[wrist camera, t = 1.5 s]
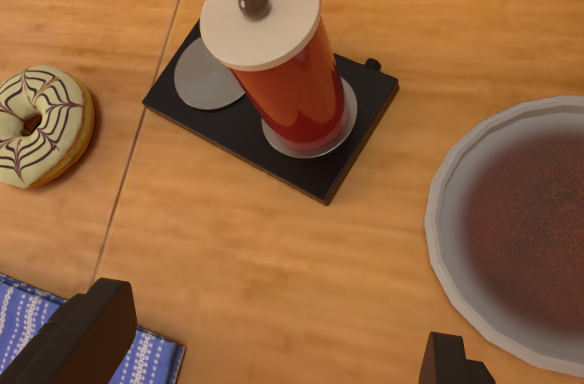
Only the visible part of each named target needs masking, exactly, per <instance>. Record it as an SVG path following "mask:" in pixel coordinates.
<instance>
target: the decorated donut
mask: <svg viewBox="0 0 584 384" xmlns="http://www.w3.org/2000/svg"><path fill="white" fill-rule="evenodd" d="M41 120H42V123H41V124H40V125H39V126H38V127H37V129H36V130H35V132H34V133H33V130H34V128H35V127H36V125H37V124H38V123H39V122H40V121H41ZM93 123H94V107H93V103H92V99H91V96H90V93H89V91H88V90H87V89H86V87H85V86H84V85H83V84H82V83H80V82H79V81H78V80H77V79H75V78H74V77H72V76H71V75H70V74H69V73H66V72H63V71H62V70H60V69H58V68H57V67H54V66H49V65H43V64H42V65H38V66H35V67H29V68H26V69H25V70H23V71H21V72H18V73H16V74H15V75H14V76H12V77H10V78H9V79H6V80H5V81H4V82H3V83H2V84H1V85H0V183H5V184H9V185H11V186H15V187H18V188H23V189H28V188H39V187H42V186H43V185H45V184H47V183H49V182H50V181H51V180H53V179H56V178H58V177H59V176H60V175H61V174H62V173H64V172H65V171H66V170H67V169H68V168H70V167H71V166H72V165H73V164H74V163H75V162H77V161H78V159H79V158H80V157H81V156H82V155H83V153H84V151H85V150H86V148H87V145H88V144H89V142H90V140H91V135H92V133H93V128H94V124H93ZM32 133H33V134H32Z"/></svg>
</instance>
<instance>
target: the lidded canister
mask: <svg viewBox="0 0 584 384" xmlns="http://www.w3.org/2000/svg"><path fill="white" fill-rule="evenodd" d="M321 11H322V3H321V0H206V1H205V3H204V5H203V8H202V11H201V16H200V32H201V36H202V39H203V42H204V44H205V45H206V47H207V49H208V50H209V51H210V53H211V54H212V55H213V56H214V58H215V59H217V60H218V61H219V62H220V63H222V64H223V65H225V66H226V67H227V69H228V70H229V72H230V73H231V74H232V76H233V77H234V79H235V80H236V82H237V83H238V84H239V86H240V87H241V89H242V90H243V91H244V93H245V94H246V96H247V97H248V99H249V100H250V101H251V103H252V104H253V106H254V107H255V109H256V110H257V111H258V113H259V114H260V116H261V117H262V119H263V120H264V121H265V123H266V124H267V126H268V127H269V129H270V130H271V131H272V133H273V134H274V136H275V137H276V138H277V139H278V140H279V141H280V142H281V143H283V144H284V145H286V146H288V147H290V148H293V149H298V150H311V149H315V148H319V147H321V146H323V145H326V144H327V143H329V142H330V141H332V140H333V139H334V138H335V137H336V136H337V135H338V134H339V133H340V132H341V130H342V129H343V127H344V126H345V123H346V121H347V118H348V113H349V103H348V99H347V96H346V92H345V89H344V86H343V83H342V80H341V77H340V73H339V70H338V67H337V64H336V61H335V58H334V54H333V51H332V48H331V45H330V42H329V39H328V36H327V32H326V29H325V26H324V23H323V20H322V17H321Z"/></svg>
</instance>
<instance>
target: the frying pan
mask: <svg viewBox="0 0 584 384" xmlns="http://www.w3.org/2000/svg"><path fill="white" fill-rule="evenodd" d="M424 226H425V232H426V238H427V244H428V251H429V257H430V263H431V266H432V268H433V269H434V271H435V273H436V275H437V277H438V279H439V281H440V283H441V285H442V287H443V289H444V291H445V292H446V294H447V296H448V298H449V300H450V302H451V304H452V305H453V306H454V307H455V308H456V309H457V310H458V311H459V312H460V313H461V314H462V315H463V316H464V318H465V319H466V320H467V321H468V322H469V323H470V324H471V325H472V326H473V327H474V328H475V329H476V330H477V331H478V332H479V333H480V334H481V335H482V336H483V337H484V338H485V339H486V340H487V341H489V342H491V343H493V344H494V345H496V346H498V347H500V348H502V349H503V350H505V351H507V352H509V353H510V354H512V355H514V356H516V357H518V358H519V359H521V360H523V361H525V362H526V363H528V364H530V365H532V366H534V367H538V368H542V369H547V370H551V371H555V372H559V373H563V374H568V375H572V376H576V377H580V378H584V97H582V96H570V95H562V96H556V97H551V98H545V99H539V100H533V101H528V102H522V103H517V104H515V105H513V106H511V107H509V108H507V109H505V110H503V111H501V112H499V113H496V114H494V115H492V116H490V117H488V118H486V119H484V120H482V121H480V122H479V123H477V124H476V125H475V126H474V127H473V128H472V129H471V130H470V131H469V132H468V133H467V134H465V135H464V136H463V137H462V138H461V139H460V140H459V141H458V142H457V143H456V144H455V145H453V146H452V147H451V148H450V149H449V151H448V153H447V155H446V157H445V158H444V160H443V162H442V164H441V166H440V167H439V169H438V171H437V173H436V175H435V176H434V178H433V180H432V182H431V184H430V190H429V196H428V202H427V207H426V213H425V219H424Z"/></svg>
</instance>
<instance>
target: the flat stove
mask: <svg viewBox="0 0 584 384" xmlns="http://www.w3.org/2000/svg"><path fill="white" fill-rule="evenodd" d="M333 54H334V58H335V61H336V64H337V67H338V70H339V73H340V77H341V80H342V83H343V86H344V89H345V92H346V96H347V99H348V103H349V113H348V118H347V121H346V123H345V126H344V127H343V129H342V130H341V132H340V133H339V134H338V135H337V136H336V137H335V138H334V139H333V140H332V141H330V142H329V143H327V144H326V145H323V146H321V147H319V148H315V149H311V150H298V149H293V148H290V147H288V146H286V145H284V144H283V143H281V142H280V141H279V140H278V139H277V138H276V137H275V136H274V134H273V133H272V131H271V130H270V129H269V127H268V126H267V124H266V123H265V121H264V120H263V119H262V117H261V116H260V114H259V113H258V111H257V110H256V109H255V107H254V106H253V104H252V103H251V101H250V100H249V99H248V97H247V96H246V94H245V93H244V91H243V90H242V89H241V87H240V86H239V84H238V83H237V82H236V80H235V79H234V77H233V76H232V74H231V73H230V72H229V70H228V69H227V67H226V66H225V65H223V64H222V63H220V62H219V61H218V60H217V59H215V58H214V56H213V55H212V54H211V53H210V51H209V50H208V49H207V47H206V45H205V44H204V42H203V39H202V36H201V32H200V19H199V20H198V21H197V23H196V24H195V26H194V27H193V29H192V30H191V32H190V33H189V35H188V36H187V37H186V39H185V40H184V42H183V43H182V45H181V46H180V48H179V49H178V50H177V52H176V53H175V55H174V56H173V58H172V59H171V61H170V62H169V64H168V65H167V66H166V68H165V69H164V71H163V72H162V74H161V75H160V77H159V78H158V79H157V81H156V82H155V84H154V85H153V87H152V88H151V90H150V91H149V93H148V94H147V95H146V97H145V98H144V100H143V101H142V103H143V104H144V105H145V106H146V107H147V108H148V109H149V110H151V111H153V112H154V113H156V114H158V115H160V116H162V117H164V118H165V119H167V120H169V121H171V122H173V123H175V124H177V125H178V126H180V127H182V128H184V129H186V130H188V131H189V132H191V133H193V134H195V135H197V136H199V137H200V138H202V139H204V140H206V141H208V142H210V143H211V144H213V145H215V146H217V147H219V148H221V149H223V150H224V151H226V152H228V153H230V154H232V155H234V156H235V157H237V158H239V159H241V160H243V161H245V162H246V163H248V164H250V165H252V166H254V167H256V168H257V169H259V170H261V171H263V172H265V173H267V174H268V175H270V176H272V177H274V178H276V179H278V180H280V181H281V182H283V183H285V184H287V185H289V186H291V187H292V188H294V189H296V190H298V191H300V192H302V193H303V194H305V195H307V196H309V197H311V198H313V199H314V200H316V201H318V202H320V203H322V204H324V205H326V206H328V205H329V203H330V202H331V200H332V198H333V197H334V195H335V194H336V192H337V190H338V189H339V187H340V185H341V184H342V182H343V180H344V179H345V177H346V175H347V174H348V172H349V170H350V169H351V167H352V166H353V164H354V162H355V161H356V159H357V157H358V156H359V154H360V152H361V151H362V149H363V147H364V146H365V144H366V142H367V141H368V139H369V138H370V136H371V134H372V133H373V131H374V129H375V128H376V126H377V124H378V123H379V121H380V119H381V118H382V116H383V114H384V113H385V111H386V110H387V108H388V106H389V105H390V103H391V101H392V100H393V98H394V96H395V95H396V93H397V91H398V90H399V82H398V79H397V78H394V77H392V76H389V75H387V74H384V73H382V72H379V70H380V69H381V64H380V63H379V62H378V61H377V60H375V59H372V58H369V59H367V61H366V63H365V64H364V65H362V64H359V63H357V62H354V61H352V60H349V59H347V58H344V57H342V56H340V55H337V54H335V53H333Z"/></svg>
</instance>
